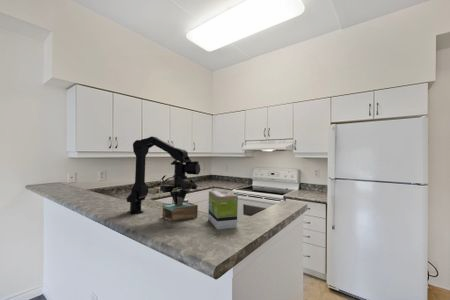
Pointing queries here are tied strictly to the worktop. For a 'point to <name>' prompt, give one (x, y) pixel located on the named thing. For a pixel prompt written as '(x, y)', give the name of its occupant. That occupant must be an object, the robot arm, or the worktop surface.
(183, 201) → the medicine bottle
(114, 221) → the worktop surface
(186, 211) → the box
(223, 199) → the tea box
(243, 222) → the worktop surface
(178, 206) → the cover plate
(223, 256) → the worktop surface
